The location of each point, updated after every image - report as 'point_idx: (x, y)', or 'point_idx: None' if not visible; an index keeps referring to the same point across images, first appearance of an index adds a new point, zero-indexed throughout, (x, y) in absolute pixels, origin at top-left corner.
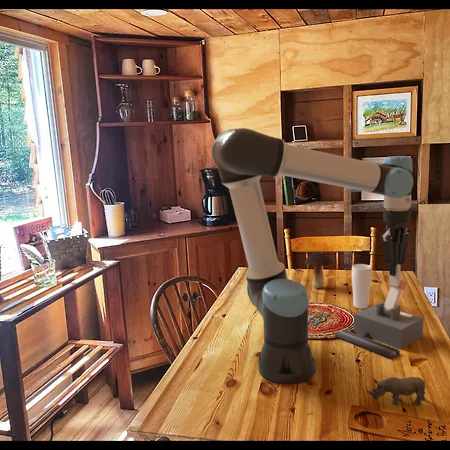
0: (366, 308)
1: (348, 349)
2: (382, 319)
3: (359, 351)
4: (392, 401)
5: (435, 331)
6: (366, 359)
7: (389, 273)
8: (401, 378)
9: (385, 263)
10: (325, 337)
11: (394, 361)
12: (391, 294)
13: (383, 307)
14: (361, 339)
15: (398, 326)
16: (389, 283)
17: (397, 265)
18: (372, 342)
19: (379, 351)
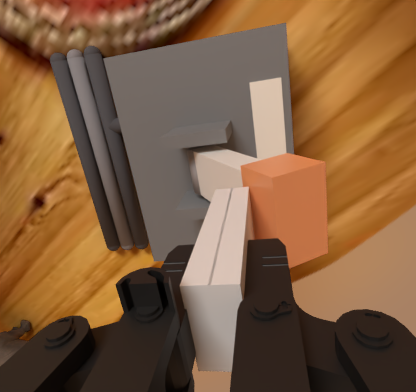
0: (194, 41)
1: (49, 146)
2: (163, 172)
3: (69, 172)
4: (12, 329)
5: (365, 221)
6: (61, 211)
7: (167, 256)
8: (4, 362)
9: (65, 317)
10: (26, 38)
11: (113, 254)
12: (226, 185)
13: (193, 152)
14: (94, 146)
15: (165, 242)
16: (215, 194)
17: (210, 360)
18: (116, 174)
19: (99, 219)
